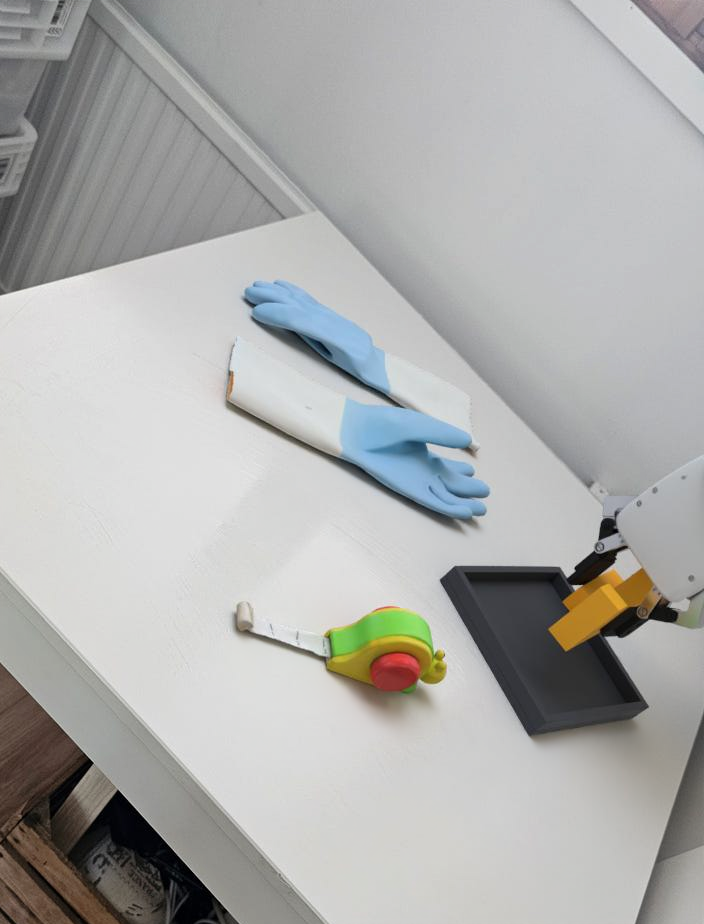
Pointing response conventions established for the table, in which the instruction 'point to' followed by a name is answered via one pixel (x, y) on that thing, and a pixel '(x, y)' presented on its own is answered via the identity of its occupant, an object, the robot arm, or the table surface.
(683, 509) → the robot arm
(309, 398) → the rubber gloves
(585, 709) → the dark grey tray
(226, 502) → the table surface
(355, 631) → the toy measuring tape
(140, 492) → the table surface
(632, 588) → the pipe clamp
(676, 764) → the table surface
